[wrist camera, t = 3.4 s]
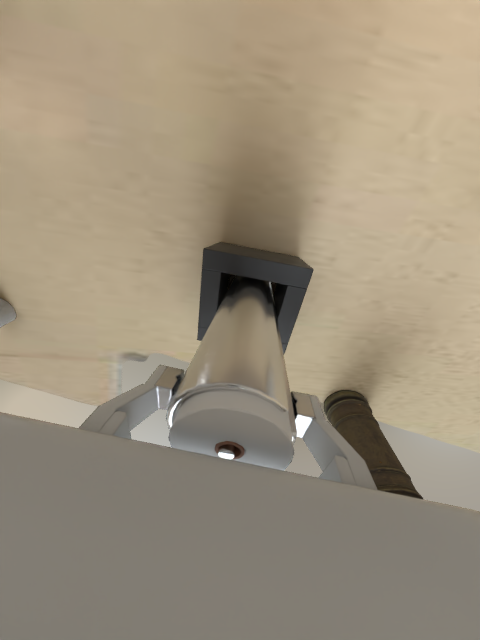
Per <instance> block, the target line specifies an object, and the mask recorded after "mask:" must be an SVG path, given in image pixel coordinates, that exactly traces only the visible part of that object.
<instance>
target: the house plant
mask: <svg viewBox="0 0 480 640" xmlns="http://www.w3.org/2000/svg"><path fill="white" fill-rule="evenodd" d="M15 318H16V313H15V310H14V309H13V307H12V306H11V305H10V304H9V303H8V302H6V301H5V300H3V299H1V298H0V327H2V326H4V325H5V324H7V323H9V322H11V321H13V320H14V319H15Z"/></svg>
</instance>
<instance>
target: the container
mask: <svg viewBox="0 0 480 640" xmlns="http://www.w3.org/2000/svg"><path fill="white" fill-rule="evenodd" d="M324 412H325V414H326V415H327V418H328V420H329V422H330V423H331V424H332V426H333V427H334V428H335V429H336V430H337V431H338V432H339V434H340V435H341V436H342V437H343V438H344V439H345V440H346V441H347V442H348V443H349V444H350V445H351V446H352V448H353V449H354V450H355V451H356V452H357V453H358V454H359V455H360V456H361V457H362V458H363V459H364V461H365V463H366V465H367V467H368V469H369V472H370V474H371V476H372V478H373V481H374V483H375V485H376V487H377V490H380V491H385V492H389V493H394V494H399V495H404V496H409V497H414V498H418V499H423V498H422V496H421V495H420V494H419V493H418V492H417V491H416V489H415V487H414V486H413V484H412V482H411V478H410V476H409V475H408V474H407V473H406V472H405V470H404V468H403V467H402V465H401V463H400V462H399V460H398V458H397V456H396V455H395V453H394V452H393V450H392V448H391V447H390V445H389V443H388V441H387V440H386V438H385V436H384V435H383V433H382V431H381V430H380V427H379V424H378V422H377V421H376V420H375V418H374V417H373V415H372V410H371V408H370V406H369V404H368V402H367V400H366V399H365V398H364V397H363V396H362V395H361V394H359V393H357V392H353V391H340V392H336V393H334V394H332V395H331V396H329V397H328V398H327V399H326V401H325V403H324ZM423 500H424V499H423Z"/></svg>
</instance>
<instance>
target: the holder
mask: <svg viewBox="0 0 480 640" xmlns="http://www.w3.org/2000/svg"><path fill="white" fill-rule="evenodd" d="M202 268H203V269H202V278H201V293H200V308H199V323H198V338H197V340H200V341H202V339H203V337H204V335H205V334H206V332H207V330H208V328H209V326H210V324H211V322H212V320H213V318H214V316H215V314H216V312H217V310H218V308H219V306H220V304H221V302H222V301H223V299H224V297H225V295H226V293H227V291H228V286H229V279H230V274H233V275H238V276H243V277H248V278H254V279H259V280H264V281H269V282H275V283H276V287H275V291H274V294H273V298H274V304H275V309H276V315H277V321H278V326H279V332H280V337H281V343H282V349H283V354H284V353H285V350H286V347H287V345H288V342H289V339H290V336H291V333H292V330H293V327H294V324H295V322H296V319H297V316H298V313H299V310H300V307H301V304H302V302H303V299H304V296H305V293H306V290H307V287H308V284H309V282H310V279H311V276H312V273H313V270H314V269H313V268H311V267H310V266H309V265H308V264H306V263H305V262H304V261H303V260H301V259H300V258H299V257H296V256H291V255H286V254H280V253H275V252H270V251H265V250H259V249H254V248H249V247H243V246H238V245H233V244H228V243H222V242H219V243H217V244H214V245H212V246H209V247H206V248H204V250H203V265H202Z"/></svg>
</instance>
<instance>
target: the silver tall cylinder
mask: <svg viewBox="0 0 480 640" xmlns="http://www.w3.org/2000/svg"><path fill="white" fill-rule="evenodd" d="M166 420H167V425H168V428H169V429H170V433H169V441H170V444H171V447H172V448H176V449H181V450H185V451H190V452H195V453H200V454H205V455H210V456H215V457H219V458H224V459H229V460H234V461H239V462H244V463H249V464H254V465H258V466H263V467H268V468H273V469H278V470H283V471H284V470H285V469H286V468H287V467H288V465H289V464H290V463H291V462H292V458H293V455H294V448H293V445H294V443H295V439H296V436H297V427H296V422H295V416H294V411H293V405H292V399H291V394H290V388H289V382H288V377H287V371H286V366H285V360H284V354H283V349H282V343H281V337H280V332H279V326H278V321H277V315H276V309H275V304H274V298H273V293H272V287H271V282H269V281H264V280H259V279H254V278H248V277H243V276H238V275H236V276H235V278H234V279H233V281H232V283H231V285H230V287H229V289H228V291H227V293H226V295H225V297H224V299H223V301H222V302H221V304H220V306H219V308H218V310H217V312H216V314H215V316H214V318H213V320H212V322H211V324H210V326H209V328H208V330H207V332H206V334H205V335H204V337H203V339H202V341H201V343H200V345H199V347H198V349H197V351H196V353H195V355H194V357H193V359H192V361H191V363H190V365H189V367H188V368H187V370H186V373H185V374H184V376H183V378H182V380H181V382H180V384H179V386H178V388H177V390H176V392H175V394H174V396H173V398H172V399H171V401H170V403H169V405H168V409H167V415H166Z"/></svg>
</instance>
